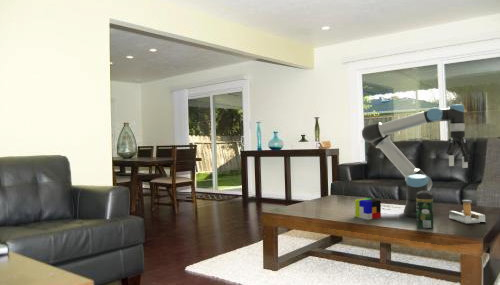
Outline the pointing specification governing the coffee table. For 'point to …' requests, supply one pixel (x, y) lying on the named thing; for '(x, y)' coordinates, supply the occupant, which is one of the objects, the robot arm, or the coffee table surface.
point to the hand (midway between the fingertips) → (458, 166)
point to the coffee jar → (424, 209)
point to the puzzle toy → (368, 208)
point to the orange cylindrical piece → (467, 207)
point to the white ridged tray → (467, 217)
